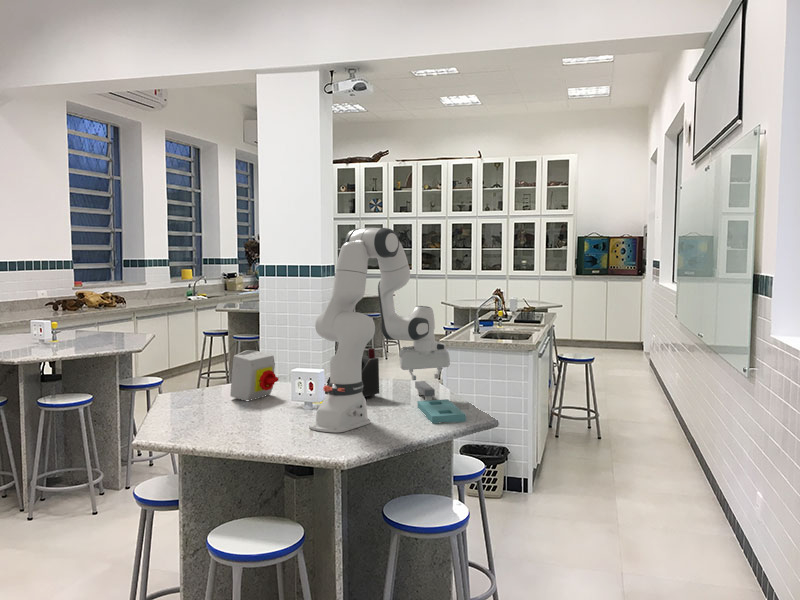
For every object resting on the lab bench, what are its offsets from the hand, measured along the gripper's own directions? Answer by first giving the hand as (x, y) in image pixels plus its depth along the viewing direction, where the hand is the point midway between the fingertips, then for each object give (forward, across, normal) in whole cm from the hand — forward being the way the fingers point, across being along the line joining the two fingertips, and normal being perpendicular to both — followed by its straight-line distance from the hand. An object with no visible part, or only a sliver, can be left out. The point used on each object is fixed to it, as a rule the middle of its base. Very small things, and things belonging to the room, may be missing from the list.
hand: (425, 379), depth 258 cm
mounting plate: (+8, -1, -26) cm, 27 cm away
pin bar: (+8, -1, 0) cm, 8 cm away
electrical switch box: (+7, -68, +20) cm, 71 cm away
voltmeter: (+8, -29, +11) cm, 32 cm away
